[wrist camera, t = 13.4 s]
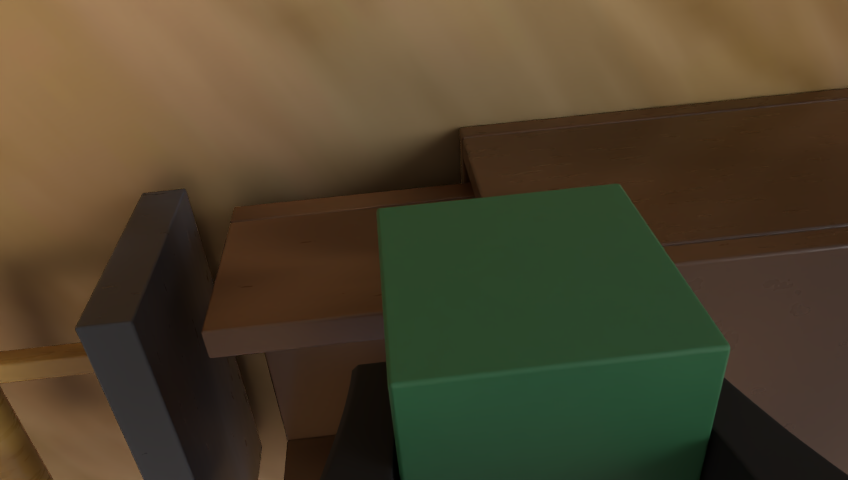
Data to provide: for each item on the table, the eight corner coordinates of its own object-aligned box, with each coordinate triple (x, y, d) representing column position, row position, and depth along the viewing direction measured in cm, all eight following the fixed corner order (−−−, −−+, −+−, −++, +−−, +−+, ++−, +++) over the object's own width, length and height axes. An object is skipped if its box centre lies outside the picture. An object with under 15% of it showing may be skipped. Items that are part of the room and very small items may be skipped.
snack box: (405, 454, 14) (422, 654, 11) (376, 207, 11) (387, 386, 8) (594, 431, 15) (666, 622, 11) (619, 181, 11) (733, 347, 8)
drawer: (82, 468, 25) (19, 631, 20) (-53, 212, 19) (-188, 356, 14) (569, 410, 25) (620, 555, 21) (588, 146, 19) (665, 263, 15)
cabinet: (471, 415, 26) (508, 609, 20) (458, 126, 20) (508, 283, 14) (815, 375, 27) (954, 552, 21) (915, 80, 20) (1163, 210, 14)
